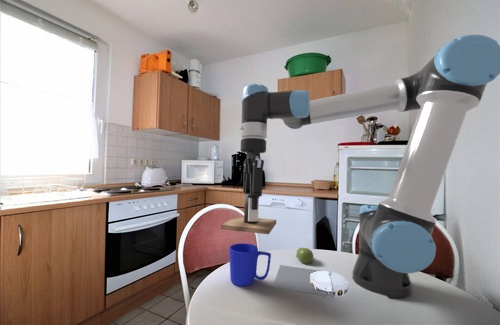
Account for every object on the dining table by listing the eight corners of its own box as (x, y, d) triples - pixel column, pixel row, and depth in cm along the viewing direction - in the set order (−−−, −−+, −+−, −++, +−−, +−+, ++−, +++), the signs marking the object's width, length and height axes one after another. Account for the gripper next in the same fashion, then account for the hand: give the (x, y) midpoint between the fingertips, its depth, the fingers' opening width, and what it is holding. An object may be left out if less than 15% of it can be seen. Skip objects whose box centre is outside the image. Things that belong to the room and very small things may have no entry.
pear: (299, 249, 80) (293, 245, 89) (299, 265, 79) (293, 259, 88) (315, 249, 80) (307, 245, 90) (316, 266, 79) (308, 259, 88)
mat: (329, 273, 74) (329, 271, 74) (334, 299, 58) (334, 297, 59) (280, 266, 78) (280, 265, 78) (272, 289, 63) (272, 287, 63)
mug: (268, 294, 60) (269, 255, 61) (224, 287, 63) (225, 250, 63) (271, 279, 68) (272, 245, 69) (232, 274, 71) (233, 242, 71)
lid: (276, 223, 71) (277, 193, 71) (268, 234, 58) (269, 198, 59) (236, 219, 74) (237, 191, 74) (221, 229, 62) (222, 195, 62)
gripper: (235, 141, 74) (232, 214, 73) (248, 133, 58) (245, 226, 57) (257, 143, 76) (254, 213, 75) (276, 135, 60) (273, 225, 59)
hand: (250, 219), depth 66 cm, fingers closed on lid, 4 cm apart
